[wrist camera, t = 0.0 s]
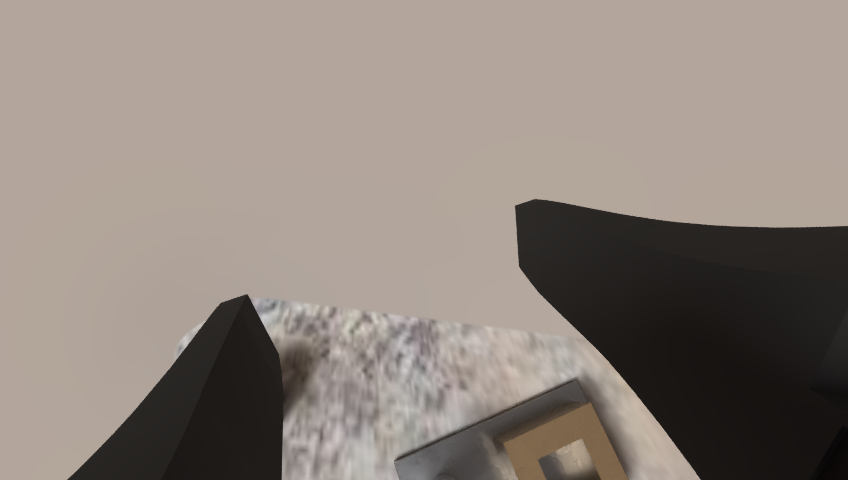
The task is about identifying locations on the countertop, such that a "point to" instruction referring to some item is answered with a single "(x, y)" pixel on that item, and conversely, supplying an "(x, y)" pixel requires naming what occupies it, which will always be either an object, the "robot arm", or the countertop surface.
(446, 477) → the steel pin
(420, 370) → the countertop surface
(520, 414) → the clevis base
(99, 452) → the robot arm
